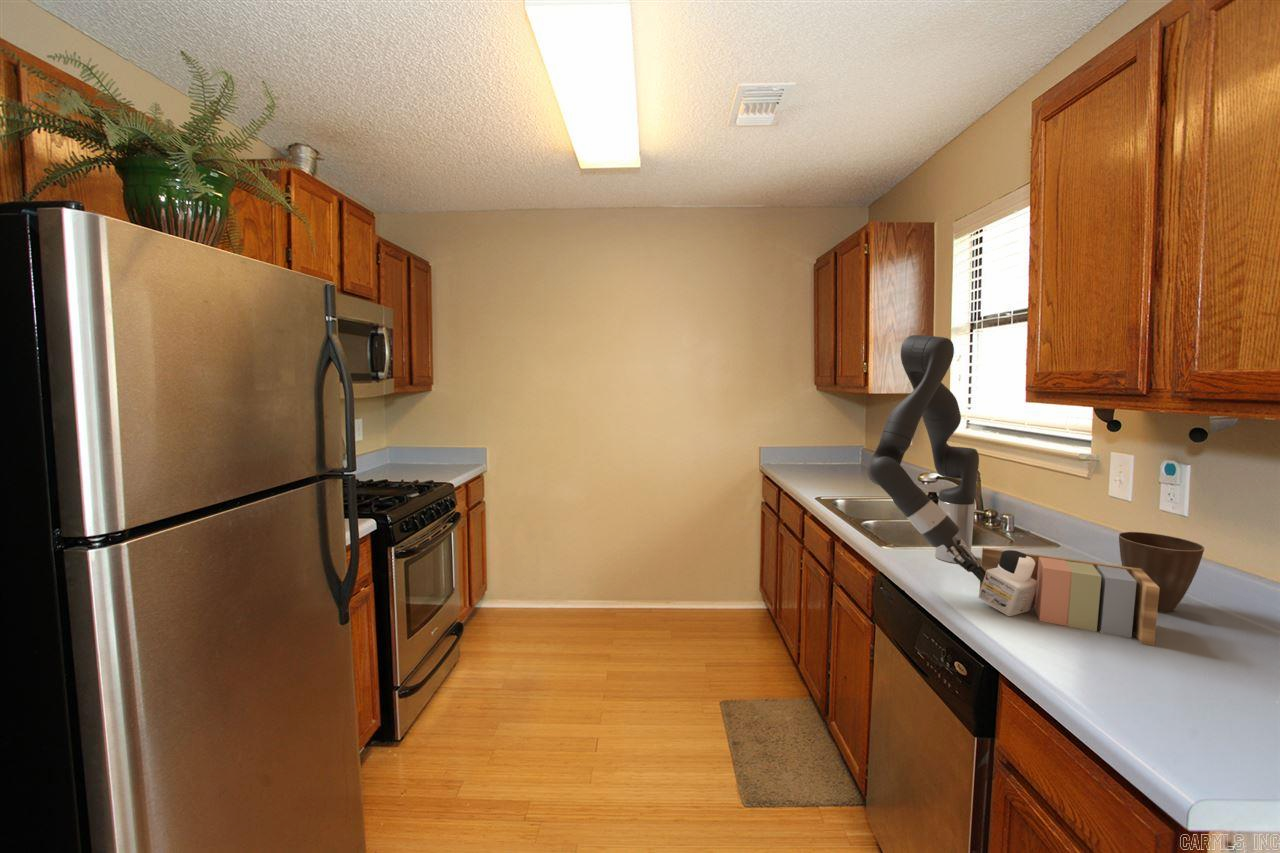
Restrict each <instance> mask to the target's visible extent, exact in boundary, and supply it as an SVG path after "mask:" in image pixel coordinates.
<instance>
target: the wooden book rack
mask: <svg viewBox="0 0 1280 853" xmlns="http://www.w3.org/2000/svg"><path fill="white" fill-rule="evenodd" d="M981 549H982V550H981V564H980V566H981V567H982V568H983V569H984V570H985V571H987V570H988V569H993V568H997V567H998V564H999V561H1000V558H1001V555H1002V552H1003V551H1006V550H1007V549H1006V550H1004V549H997V548H990V547H982V548H981ZM1023 553H1024V554H1026V555H1028V556H1030V557H1031V558H1032V559H1033V560H1034V561H1035V566H1034V569H1033V572H1032V575H1031V578H1032V579H1034V580H1036V581H1037V571H1038V558H1039V557H1043V558H1050V559H1058V560H1065V561H1070V562H1078V563H1085V564H1093V566H1094V567H1095V568H1096V570H1097V565H1099V566H1106V567H1113V568H1121V569H1126V570H1127V571H1128V572H1129V574H1130V575H1131V576H1132V577H1133V578H1134V579H1135V580H1136V581H1137V585H1136V595H1135V605H1134V615H1133V626H1132V634H1134V636H1135V637H1136V638H1137V640H1138V642H1140V644H1141V645H1146V646H1152V647H1155V643H1156V642H1155V640H1156V630H1157V619H1158V612H1157V611H1158V600H1159V590H1160V588H1159V587H1158V586H1157V585H1156V584H1155V583H1154V582H1153V581H1152V580H1151V579H1150V577H1149V576H1148V575H1147V574H1146V573H1145V572H1144V571H1143V570H1142V569H1140V568H1132V567H1125V566H1122V565H1116V564H1109V563H1102V562H1095V561H1093V562H1092V561H1086V560H1077V559H1072V558H1064V557H1057V556H1050V555H1049V556H1048V555H1042V554H1034V553H1025V552H1023ZM981 586H982V582H981V581H980V580H979V593H980V590H981ZM979 593H978V594H979ZM1035 597H1036V592H1035V595H1034V598H1033V601H1032V604H1031V607H1035Z"/></svg>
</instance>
